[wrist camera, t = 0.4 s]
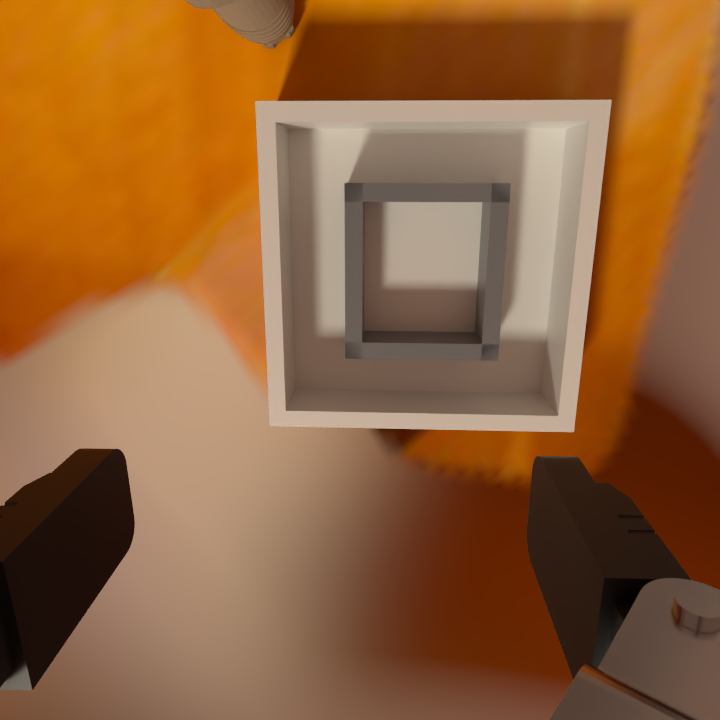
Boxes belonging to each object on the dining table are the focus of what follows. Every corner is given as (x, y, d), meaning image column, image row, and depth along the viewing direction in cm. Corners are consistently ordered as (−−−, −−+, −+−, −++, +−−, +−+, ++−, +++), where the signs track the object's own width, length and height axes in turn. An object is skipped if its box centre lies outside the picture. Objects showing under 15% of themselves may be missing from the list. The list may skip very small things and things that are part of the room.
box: (273, 113, 35) (255, 100, 30) (580, 112, 34) (611, 99, 29) (283, 397, 40) (269, 426, 35) (550, 402, 39) (573, 432, 34)
